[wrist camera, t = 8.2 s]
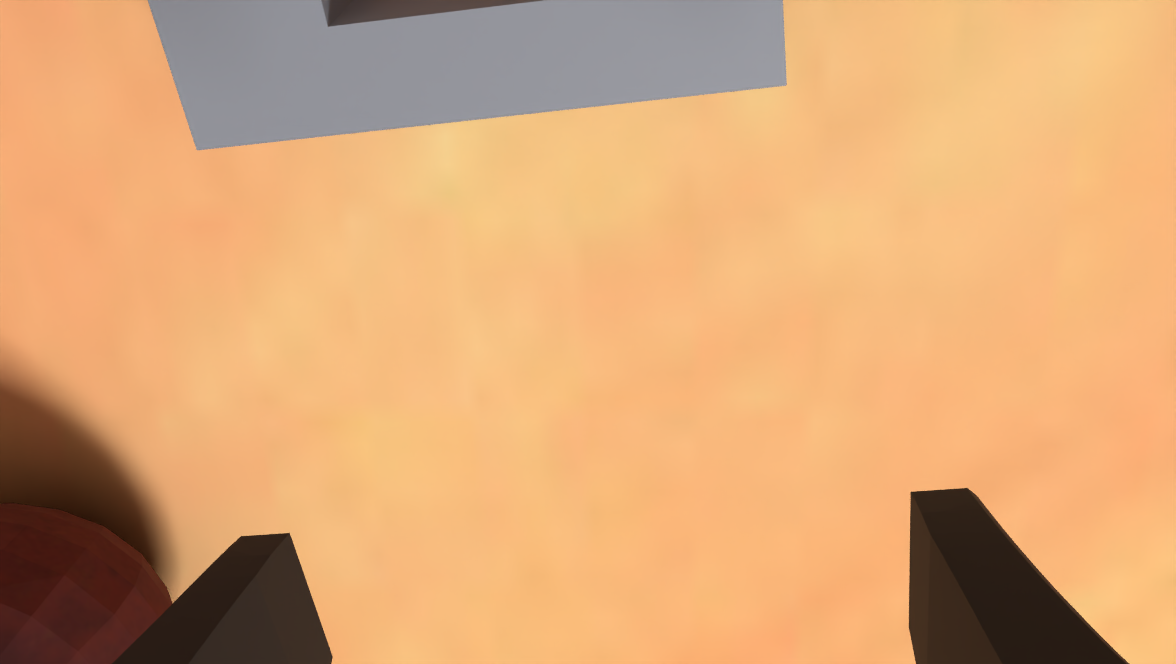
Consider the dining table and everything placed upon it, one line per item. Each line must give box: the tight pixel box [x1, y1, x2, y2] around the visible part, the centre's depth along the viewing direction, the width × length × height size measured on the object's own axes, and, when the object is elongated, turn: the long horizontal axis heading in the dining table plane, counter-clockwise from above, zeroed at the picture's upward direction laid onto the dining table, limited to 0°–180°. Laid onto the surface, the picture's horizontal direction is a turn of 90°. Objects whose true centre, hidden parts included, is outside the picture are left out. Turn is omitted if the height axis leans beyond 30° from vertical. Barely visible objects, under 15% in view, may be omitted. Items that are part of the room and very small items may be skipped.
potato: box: [0, 503, 172, 664], centre depth 25 cm, size 7×8×6 cm
